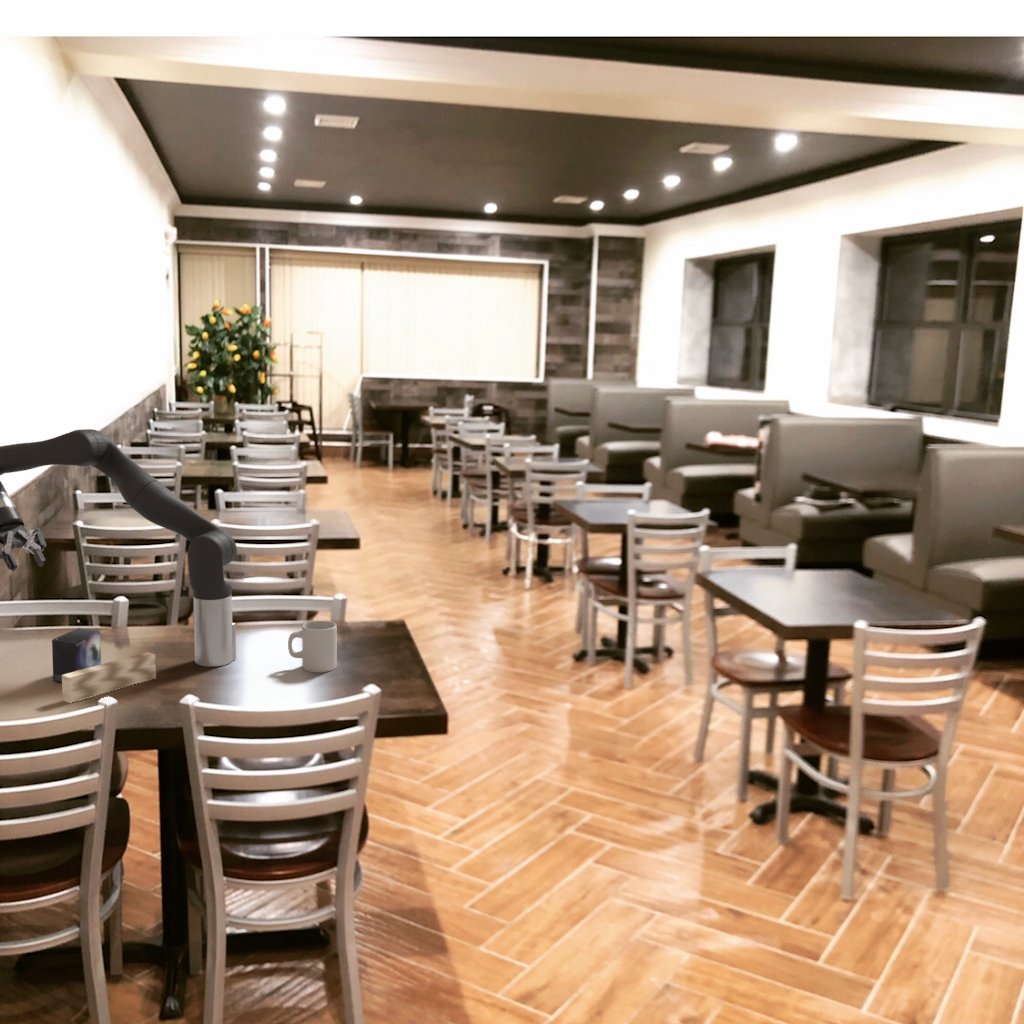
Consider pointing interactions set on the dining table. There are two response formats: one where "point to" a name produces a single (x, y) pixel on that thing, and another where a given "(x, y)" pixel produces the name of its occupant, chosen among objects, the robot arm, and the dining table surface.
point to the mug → (316, 646)
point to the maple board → (108, 676)
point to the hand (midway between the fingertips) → (28, 566)
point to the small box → (75, 652)
